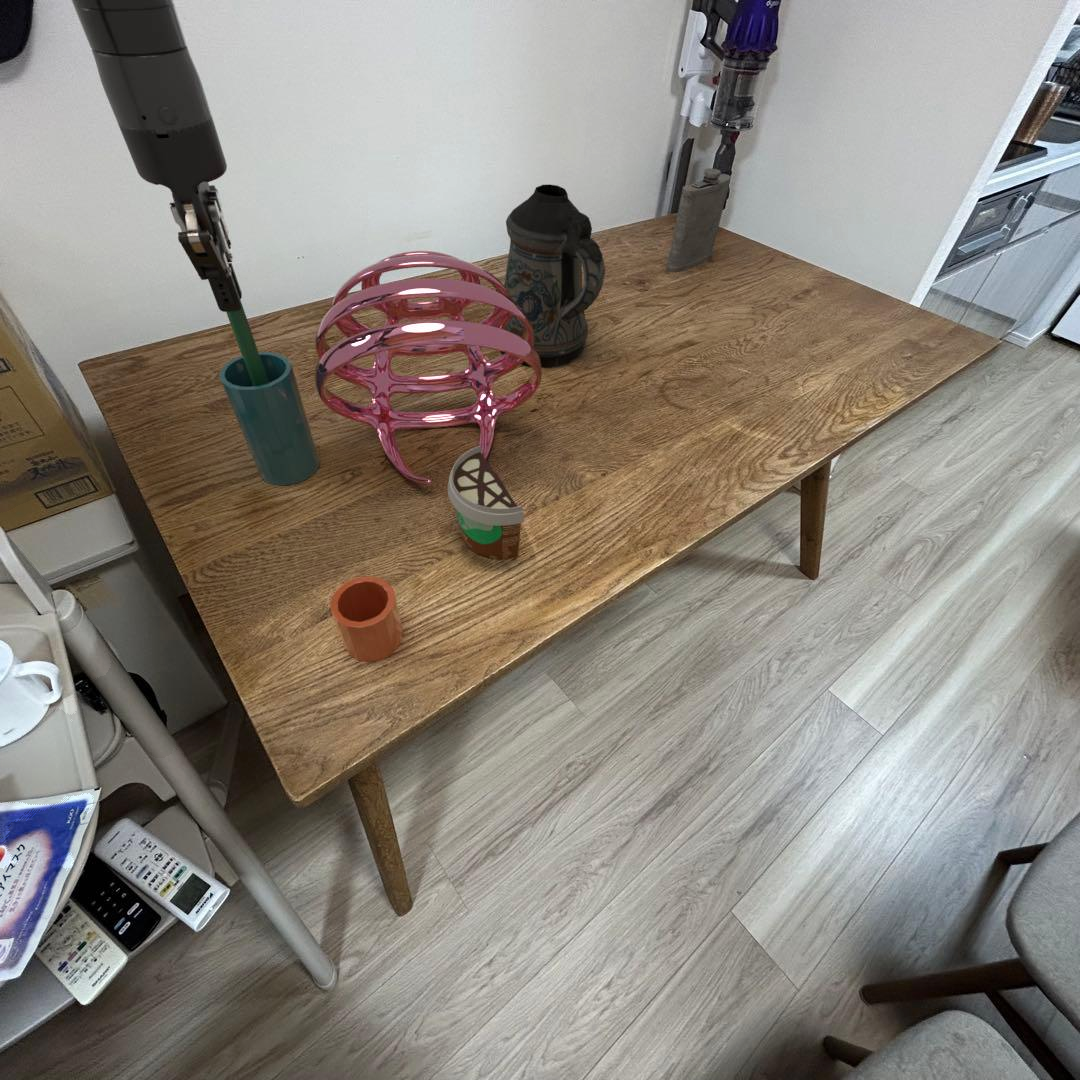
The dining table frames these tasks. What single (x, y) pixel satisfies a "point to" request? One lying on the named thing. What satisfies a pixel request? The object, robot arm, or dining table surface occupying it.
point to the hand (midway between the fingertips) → (231, 303)
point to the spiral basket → (424, 348)
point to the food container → (484, 508)
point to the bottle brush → (247, 346)
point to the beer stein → (552, 273)
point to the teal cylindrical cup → (272, 419)
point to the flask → (698, 220)
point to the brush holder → (367, 618)
